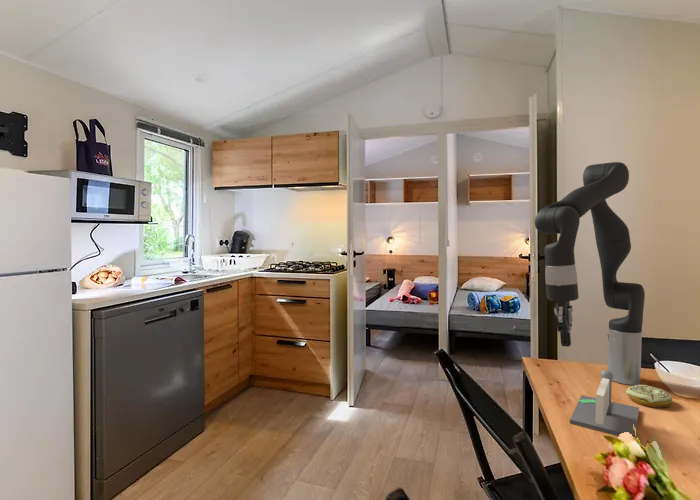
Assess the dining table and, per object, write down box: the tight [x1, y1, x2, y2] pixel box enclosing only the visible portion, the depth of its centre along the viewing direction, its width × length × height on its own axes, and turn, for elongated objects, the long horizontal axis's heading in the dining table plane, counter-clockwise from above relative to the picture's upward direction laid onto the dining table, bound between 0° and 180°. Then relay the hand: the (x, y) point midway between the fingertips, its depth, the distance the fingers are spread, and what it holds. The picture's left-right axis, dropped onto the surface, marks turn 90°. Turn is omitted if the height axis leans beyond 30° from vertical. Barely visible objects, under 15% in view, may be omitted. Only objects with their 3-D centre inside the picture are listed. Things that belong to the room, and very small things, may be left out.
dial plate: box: [569, 394, 640, 437], centre depth 107 cm, size 20×14×1 cm
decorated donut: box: [625, 384, 673, 409], centre depth 117 cm, size 10×11×4 cm
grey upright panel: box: [595, 369, 613, 425], centre depth 104 cm, size 24×3×12 cm, turn 142°
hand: (566, 345), depth 106 cm, fingers closed
